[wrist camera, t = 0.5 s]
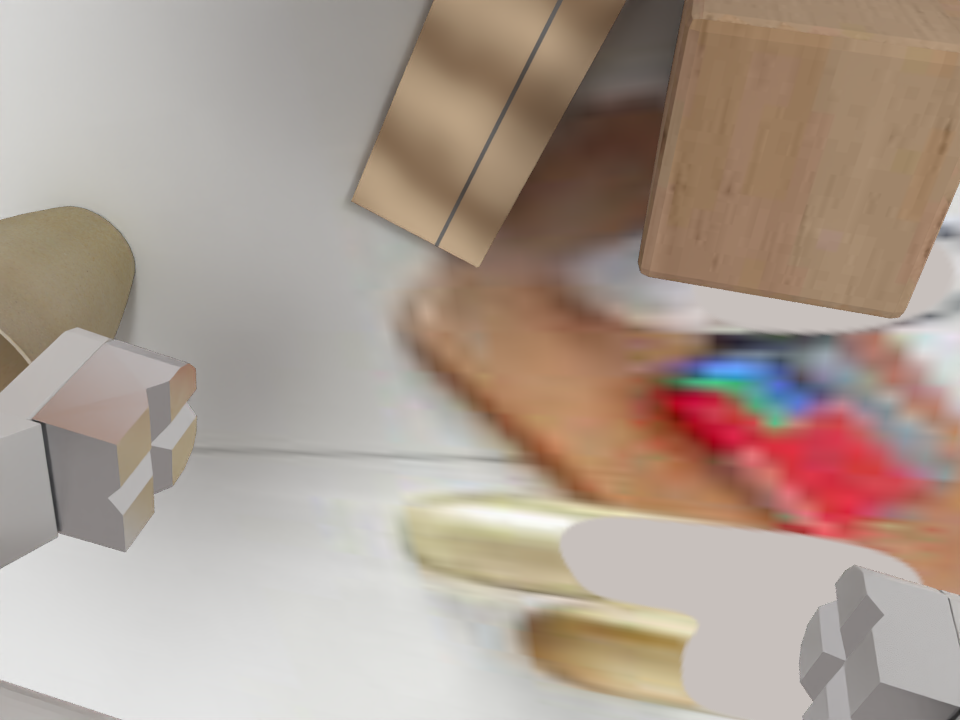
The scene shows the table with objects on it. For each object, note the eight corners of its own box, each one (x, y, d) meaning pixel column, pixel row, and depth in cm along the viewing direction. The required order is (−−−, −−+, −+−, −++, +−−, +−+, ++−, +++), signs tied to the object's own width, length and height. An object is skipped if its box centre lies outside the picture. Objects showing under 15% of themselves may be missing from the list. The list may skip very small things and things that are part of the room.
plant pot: (-42, 216, 67) (-219, 336, 55) (73, 119, 60) (-101, 232, 48) (103, 362, 73) (-27, 501, 61) (224, 290, 66) (104, 431, 53)
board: (525, -208, 43) (517, -204, 42) (687, -114, 44) (685, -107, 43) (361, 187, 58) (350, 201, 57) (485, 252, 59) (478, 268, 57)
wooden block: (665, 96, 50) (634, 279, 35) (704, -101, 44) (687, 13, 29) (849, 123, 49) (903, 326, 33) (915, -77, 43) (1019, 56, 27)
